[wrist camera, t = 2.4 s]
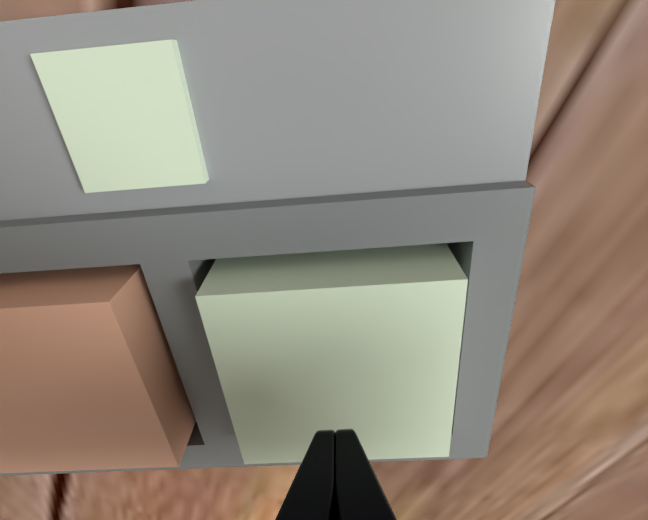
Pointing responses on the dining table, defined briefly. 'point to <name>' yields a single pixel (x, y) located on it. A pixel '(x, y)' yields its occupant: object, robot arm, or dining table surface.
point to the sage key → (338, 348)
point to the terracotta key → (87, 374)
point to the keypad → (275, 158)
